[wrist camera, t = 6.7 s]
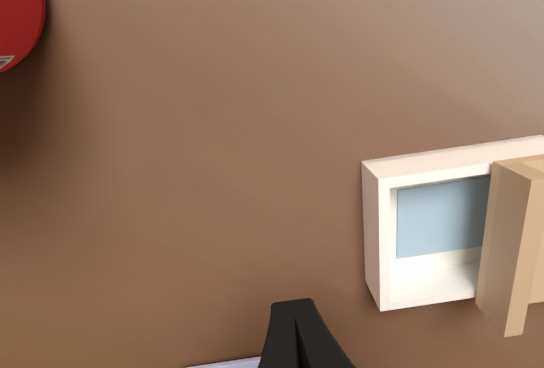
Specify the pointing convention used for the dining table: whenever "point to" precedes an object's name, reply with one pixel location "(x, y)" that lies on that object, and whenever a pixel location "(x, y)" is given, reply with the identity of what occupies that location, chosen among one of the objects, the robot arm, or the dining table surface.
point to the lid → (513, 243)
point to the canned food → (19, 29)
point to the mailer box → (430, 220)
